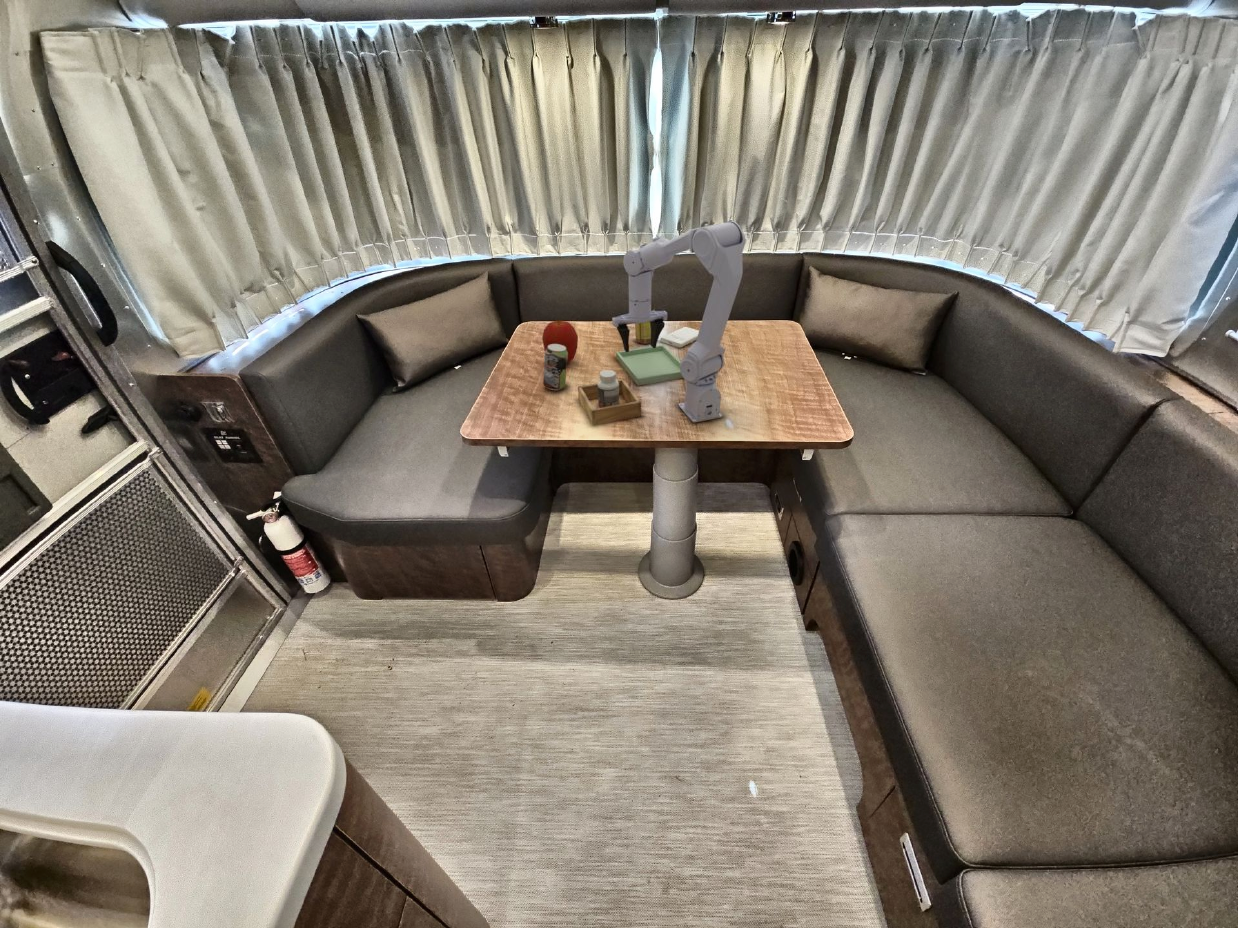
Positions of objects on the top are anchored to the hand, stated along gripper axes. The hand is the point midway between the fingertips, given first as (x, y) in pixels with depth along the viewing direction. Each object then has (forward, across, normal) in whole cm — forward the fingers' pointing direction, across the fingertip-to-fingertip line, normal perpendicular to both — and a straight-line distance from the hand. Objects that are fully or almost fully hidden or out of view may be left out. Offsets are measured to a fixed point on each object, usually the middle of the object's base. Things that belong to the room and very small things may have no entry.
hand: (639, 348), depth 143 cm
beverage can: (+10, +23, -4) cm, 25 cm away
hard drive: (+10, -23, -24) cm, 35 cm away
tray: (+10, -6, -8) cm, 14 cm away
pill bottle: (+10, +12, +11) cm, 20 cm away
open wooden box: (+10, +12, +11) cm, 20 cm away
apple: (+10, +18, -20) cm, 28 cm away
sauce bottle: (+10, -11, -27) cm, 31 cm away
